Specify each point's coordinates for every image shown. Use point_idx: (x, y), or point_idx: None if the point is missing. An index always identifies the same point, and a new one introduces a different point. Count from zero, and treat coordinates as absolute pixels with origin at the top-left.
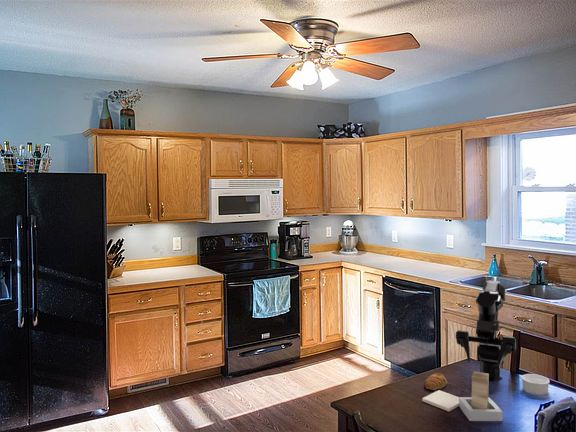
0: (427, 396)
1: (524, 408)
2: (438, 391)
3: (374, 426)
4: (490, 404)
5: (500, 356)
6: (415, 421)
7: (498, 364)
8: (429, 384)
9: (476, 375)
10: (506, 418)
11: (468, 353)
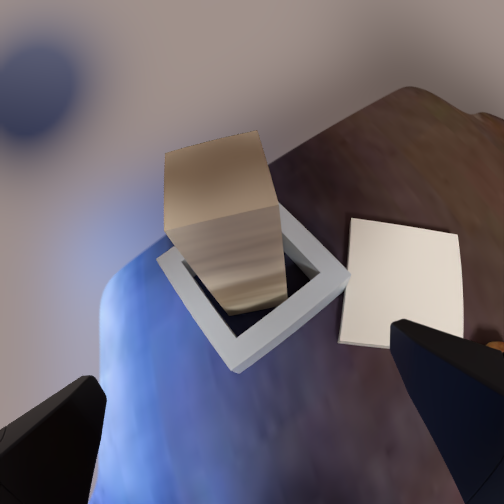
0: (456, 259)
1: (122, 428)
2: (457, 335)
3: (411, 86)
4: (211, 304)
5: (26, 423)
6: (378, 128)
7: (84, 379)
8: (502, 347)
9: (234, 152)
10: (161, 304)
11: (449, 352)
